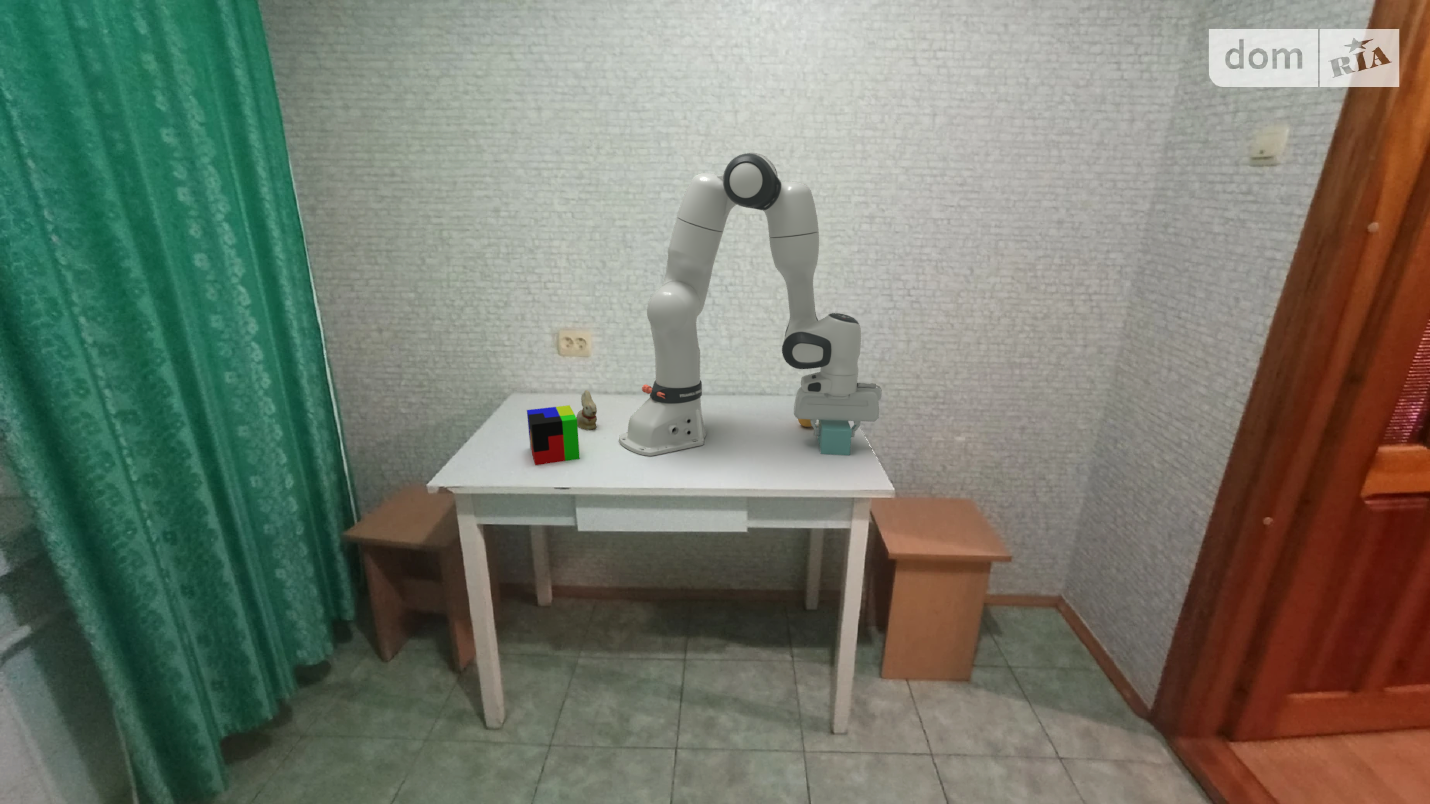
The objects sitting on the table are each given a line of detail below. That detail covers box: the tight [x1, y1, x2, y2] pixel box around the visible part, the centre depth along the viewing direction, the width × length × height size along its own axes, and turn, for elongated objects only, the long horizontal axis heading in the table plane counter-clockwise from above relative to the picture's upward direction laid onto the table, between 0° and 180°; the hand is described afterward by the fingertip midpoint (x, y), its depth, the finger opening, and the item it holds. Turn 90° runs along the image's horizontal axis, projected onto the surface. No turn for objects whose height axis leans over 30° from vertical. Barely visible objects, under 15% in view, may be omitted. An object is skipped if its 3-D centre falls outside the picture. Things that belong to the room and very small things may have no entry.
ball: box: [797, 419, 813, 428], centre depth 167 cm, size 5×5×5 cm
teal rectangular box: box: [817, 420, 852, 456], centre depth 155 cm, size 10×7×6 cm, turn 176°
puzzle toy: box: [526, 404, 581, 466], centre depth 148 cm, size 10×10×10 cm
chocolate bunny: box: [576, 389, 598, 431], centre depth 165 cm, size 6×8×10 cm
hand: (833, 435), depth 155 cm, fingers closed on teal rectangular box, 7 cm apart
